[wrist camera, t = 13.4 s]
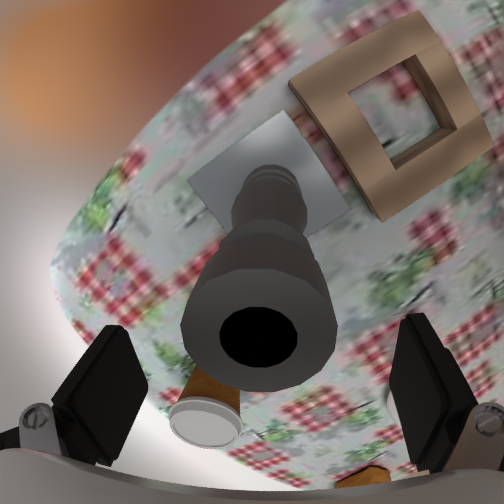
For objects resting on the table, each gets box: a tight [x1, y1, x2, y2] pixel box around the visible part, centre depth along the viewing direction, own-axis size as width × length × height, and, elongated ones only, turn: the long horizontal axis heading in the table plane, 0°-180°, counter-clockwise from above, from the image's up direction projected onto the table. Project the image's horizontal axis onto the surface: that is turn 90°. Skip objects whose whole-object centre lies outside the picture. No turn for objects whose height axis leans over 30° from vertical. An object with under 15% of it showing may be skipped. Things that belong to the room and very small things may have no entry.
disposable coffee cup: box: [168, 365, 243, 449], centre depth 40 cm, size 10×10×12 cm
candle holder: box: [180, 164, 338, 392], centre depth 23 cm, size 6×6×25 cm
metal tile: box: [187, 110, 350, 238], centre depth 35 cm, size 13×13×1 cm
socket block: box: [288, 10, 494, 223], centre depth 28 cm, size 17×17×4 cm
